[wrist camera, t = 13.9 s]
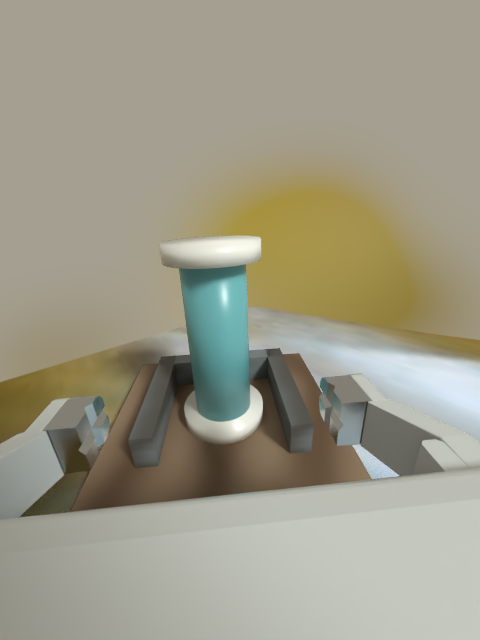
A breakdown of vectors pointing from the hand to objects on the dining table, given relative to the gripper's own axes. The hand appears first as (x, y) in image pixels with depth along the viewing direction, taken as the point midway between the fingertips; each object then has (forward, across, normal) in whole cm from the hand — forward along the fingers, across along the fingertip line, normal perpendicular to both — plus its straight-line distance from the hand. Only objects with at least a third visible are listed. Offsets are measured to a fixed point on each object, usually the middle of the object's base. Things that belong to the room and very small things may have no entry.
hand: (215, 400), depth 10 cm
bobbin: (+10, 0, +9) cm, 13 cm away
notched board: (+10, 0, +10) cm, 14 cm away
